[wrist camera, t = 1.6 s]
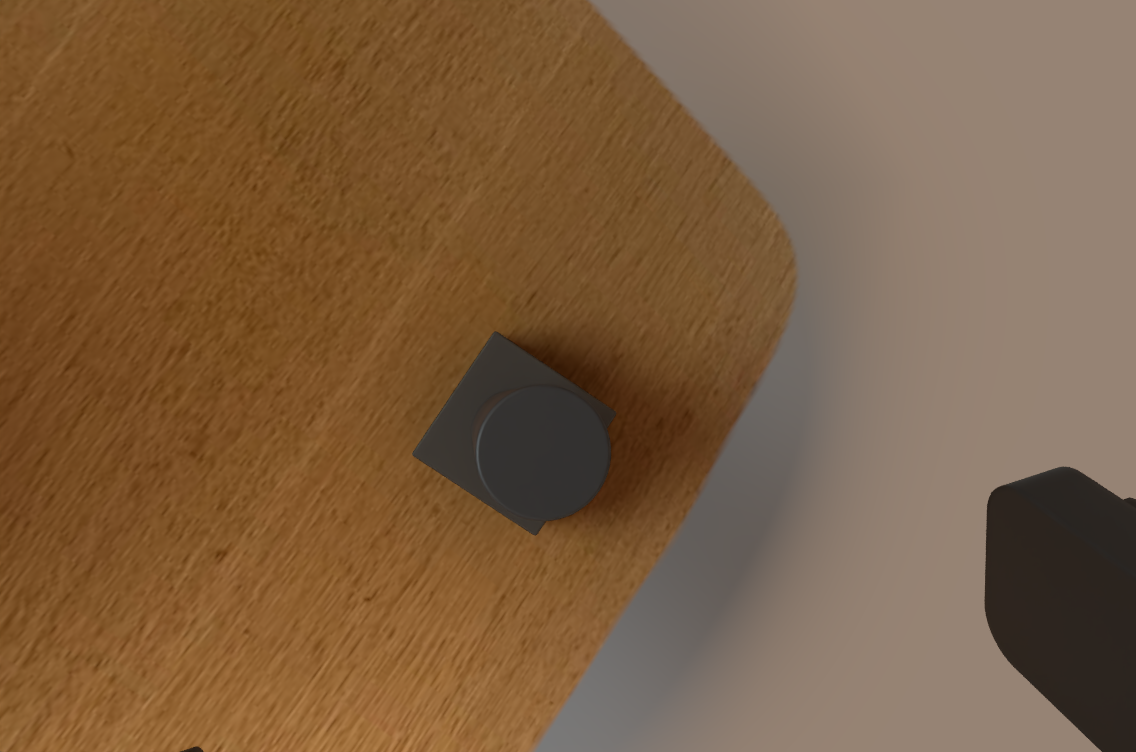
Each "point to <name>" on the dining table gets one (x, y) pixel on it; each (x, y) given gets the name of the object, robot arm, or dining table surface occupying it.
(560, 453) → the grey peg on base
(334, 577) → the dining table surface
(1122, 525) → the robot arm
